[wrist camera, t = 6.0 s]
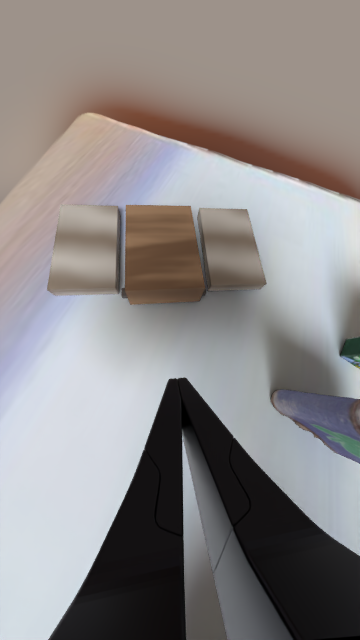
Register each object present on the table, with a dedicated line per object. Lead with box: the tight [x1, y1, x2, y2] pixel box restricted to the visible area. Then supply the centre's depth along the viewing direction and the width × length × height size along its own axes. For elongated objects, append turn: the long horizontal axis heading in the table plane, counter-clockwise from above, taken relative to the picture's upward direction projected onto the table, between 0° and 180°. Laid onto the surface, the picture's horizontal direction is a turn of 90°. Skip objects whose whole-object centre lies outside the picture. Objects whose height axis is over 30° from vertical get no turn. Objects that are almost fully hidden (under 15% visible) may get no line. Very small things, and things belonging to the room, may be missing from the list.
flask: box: [270, 389, 360, 463], centre depth 13 cm, size 9×3×11 cm, turn 54°
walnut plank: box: [125, 205, 205, 305], centre depth 21 cm, size 3×8×12 cm
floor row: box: [47, 205, 266, 298], centre depth 22 cm, size 13×25×2 cm, turn 95°
